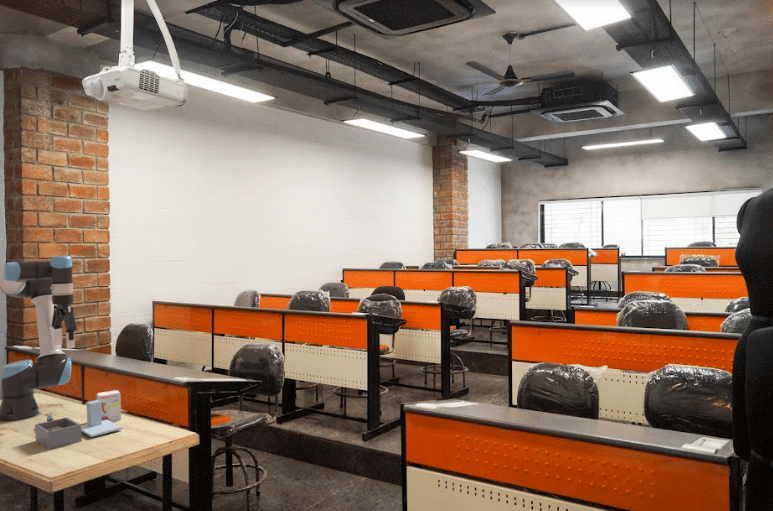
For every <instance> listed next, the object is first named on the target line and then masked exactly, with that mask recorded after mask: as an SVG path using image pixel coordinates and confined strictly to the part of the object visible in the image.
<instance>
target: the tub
mask: <svg viewBox="0 0 773 511" xmlns="http://www.w3.org/2000/svg"><path fill="white" fill-rule="evenodd" d="M34 426H35V427H34V429H35V430H34V431H35V435H34V436H35V442H36V443H37V444H40V445H41V446H42V447H44V448H46V449H47V450H52V449H56V448H61V447H64V446H68V445H71V444H77V443H81V442H82V441H83V440H82V438H83V437H82V432H81V426H82V424H81V423H79V422H77V421H76V420H74V419H71V418H70V417H68V416H67V417H61V418H59V419H58V418H57V419H54V420H53V421H48V422H47V421H44V423H43V422H40V423H36V424H34ZM57 426H59V427H62V428H61V429H57V430H53V431H49V430H47V429H50V428H53V427H57Z"/></svg>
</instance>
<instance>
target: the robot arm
mask: <svg viewBox="0 0 773 511" xmlns="http://www.w3.org/2000/svg"><path fill="white" fill-rule="evenodd" d="M72 260H73V259H72V257H71V256H70V255H57V256H56V255H53V256H51V257H50V260H44V261H43V260H38V261H37V260H36V261H34V260H33V261H12V262H5V263H4V265H3V276H2V277H1V278H0V290H1V292H3V294H5V295H7V296H9V297H13V298H16V299H17V298H19V299H27V298H30V301H31V303H32V304H34V305H35V313H36V314H35V315H36V323H37V335H38V344H39V353H40V354H39V355H38V357H36V361H35V362H33V360H32V359H23V360H22V359H21V360H17V361H13V362H10V363H8V364H7V363H6V364H5V365H3V366H2V367H1V369H0V381H1V402H0V421H2V422H3V421H7V422H8V421H18V420H22V419H27V418H31V417H34V416H37V415H38V414H39V412H40V407H39V405H38V402H37V400H36V398H35V395H34V390H37V389H43V388H50V387H55V386H56V387H58V386H61V385H66V384H68V383H69V382H70V379H71V375H72V359H71V357H67V353H65V352H64V351H63V349H62V348H63V347H62V345H63V325H62V324H63V322H64V326H65V329H66V330H65V333H66V336H65V337H66V349H67V350H69V349H74V348H76V342H75V341H76V340H75V336H76V335H75V331H77V330H78V328H77V325H76V320H75V316H74V307H73V306H70V304H73V303H74V294H73V293H74V283H73V282H74V281H73V261H72Z"/></svg>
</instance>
